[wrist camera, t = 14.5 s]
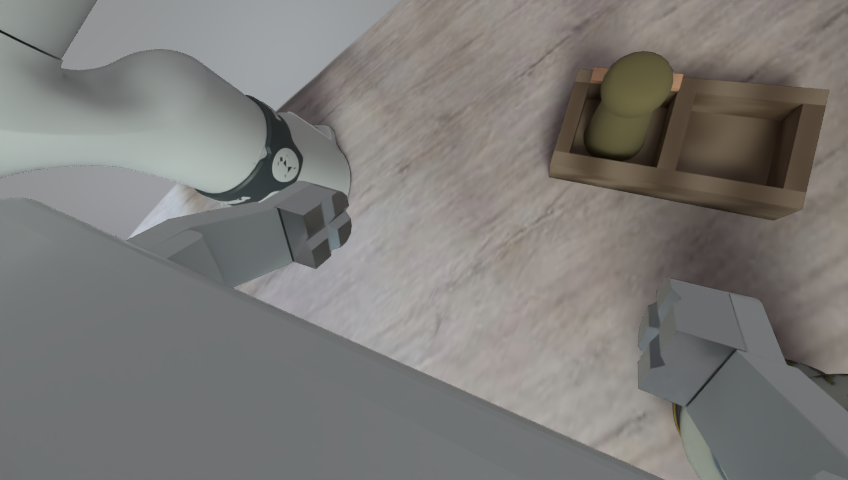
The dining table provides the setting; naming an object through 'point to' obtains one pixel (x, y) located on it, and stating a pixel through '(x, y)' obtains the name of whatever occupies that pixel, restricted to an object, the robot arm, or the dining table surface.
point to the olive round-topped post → (628, 105)
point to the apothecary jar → (702, 459)
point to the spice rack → (705, 145)
